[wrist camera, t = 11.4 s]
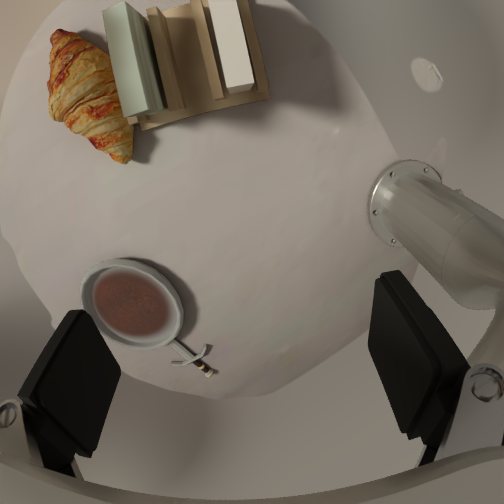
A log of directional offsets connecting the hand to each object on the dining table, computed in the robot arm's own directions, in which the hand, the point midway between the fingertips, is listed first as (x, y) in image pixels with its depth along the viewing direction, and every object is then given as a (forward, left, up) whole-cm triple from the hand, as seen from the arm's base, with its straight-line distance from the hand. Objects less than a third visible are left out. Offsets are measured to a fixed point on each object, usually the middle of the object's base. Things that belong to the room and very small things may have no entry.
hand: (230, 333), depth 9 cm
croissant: (+15, -14, -29) cm, 35 cm away
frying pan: (+18, +21, -29) cm, 40 cm away
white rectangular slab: (-2, -14, -27) cm, 30 cm away
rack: (+2, -14, -28) cm, 31 cm away
